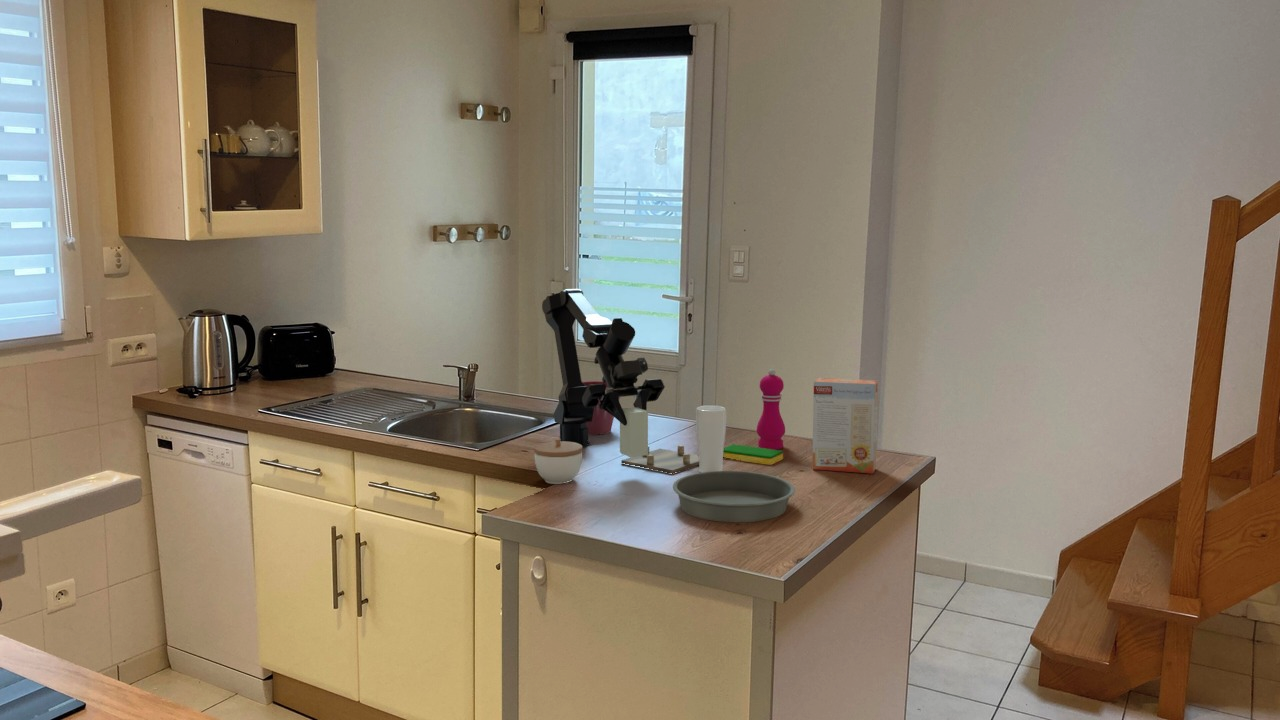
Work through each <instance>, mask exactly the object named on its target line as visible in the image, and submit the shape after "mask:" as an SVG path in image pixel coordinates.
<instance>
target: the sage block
mask: <svg viewBox="0 0 1280 720" xmlns="http://www.w3.org/2000/svg"><path fill="white" fill-rule="evenodd" d="M622 410H623V412H624V414H625V417H626V420H627V425H625V426H624V425H623V424H622V423H621V422H619V453H620V454H622V455H625V456H626V457H627V458H631V457H636V456H644V455H648V447H649V411H648V410H647V411H646V410H644V409H641V408H638V407H627V408H622Z"/></svg>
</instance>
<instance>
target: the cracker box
mask: <svg viewBox="0 0 1280 720" xmlns="http://www.w3.org/2000/svg"><path fill="white" fill-rule="evenodd" d="M878 383H879V381H878V380H877V379H876V380H874V379H873V380H872V379H856V378H855V379H853V378H834V377H833V378H830V377H829V378H827V377H817V378H816V379H815V381H813V404H812V405H813V407H812V408H813V409H812V457H811V458H812V464H811V466H812V467H811V468H812V470H817V471H831V472H834V471H835V472H845V473H846V472H849V473H860V474H872V475H873V474H874V472H875V470H876V468H877V436H878V435H877V433H878V432H877V431H878V430H877V429H878V427H877V426H878V387H879V385H878Z"/></svg>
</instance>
